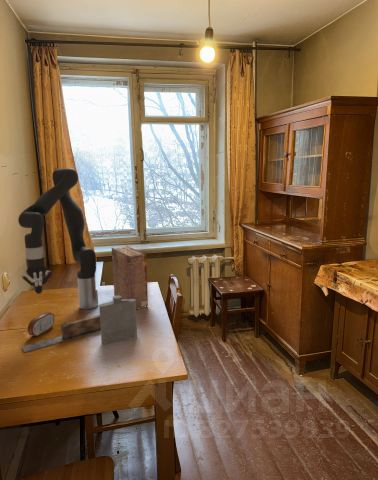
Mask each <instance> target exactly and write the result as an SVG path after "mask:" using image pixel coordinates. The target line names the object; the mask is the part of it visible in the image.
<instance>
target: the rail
mask: <svg viewBox="0 0 378 480" xmlns="http://www.w3.org/2000/svg"><path fill="white" fill-rule="evenodd" d="M98 332H101V328H100V329H97V330H93V331H89V332H86V333H82V334H79V335H75V336H72V337H69V338H68V339H64V338H63V336H62V335H60V336H56V337H54V338H53V337H52V338H49V339H46V340H42V341H39V342H38V341H37V342H35V343H30V344H26V345H24V346H21V349H22V351H23V353H28V352H29V353H30V352H32V351H36V350H38V349H42V348H46V347H49V346H53V345H57V344H61V343H63V342H67V341H70V340H74V339H77V338H81V337H84V336H88V335H92V334H94V333H98Z"/></svg>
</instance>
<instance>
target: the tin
mask: <svg viewBox="0 0 378 480" xmlns="http://www.w3.org/2000/svg"><path fill="white" fill-rule="evenodd" d="M54 314H55V313H52V312H50V311H45V312H42V313H40V314H38V315H37V316H35V317H33V318H32V319H31V320H30V321H29V323H28V325H27V332H28V333H27V334H29V336H32V337H39V336H40V335H42V334H44V333H45V332H46V331H48V330H50V329H51V328H52V327H53V326H54V324H55V315H54Z"/></svg>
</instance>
